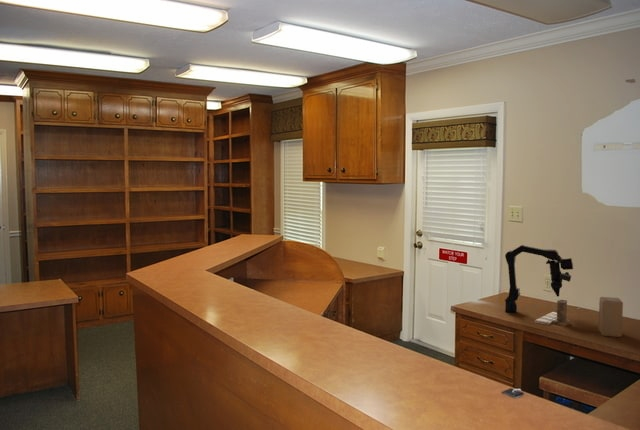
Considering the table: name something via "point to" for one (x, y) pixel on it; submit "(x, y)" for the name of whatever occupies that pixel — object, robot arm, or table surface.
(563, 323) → the square column stand
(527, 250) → the robot arm
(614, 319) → the wooden block
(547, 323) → the ash board
